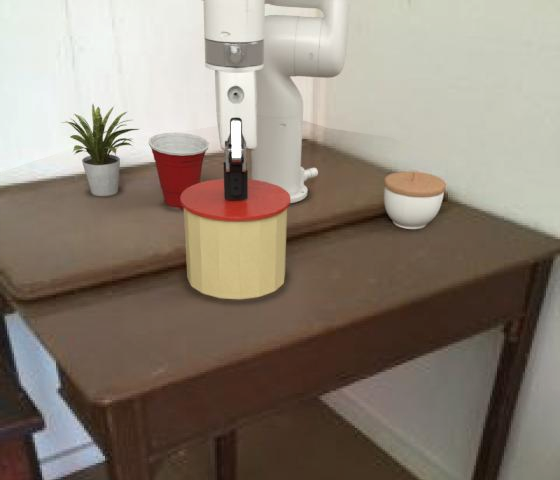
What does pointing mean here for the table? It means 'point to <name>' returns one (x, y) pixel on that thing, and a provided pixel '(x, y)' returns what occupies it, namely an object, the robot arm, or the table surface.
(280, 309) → the table surface
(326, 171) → the table surface
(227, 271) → the tin
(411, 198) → the trinket box
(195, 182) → the plastic cup
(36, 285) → the table surface
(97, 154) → the house plant
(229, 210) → the lid
